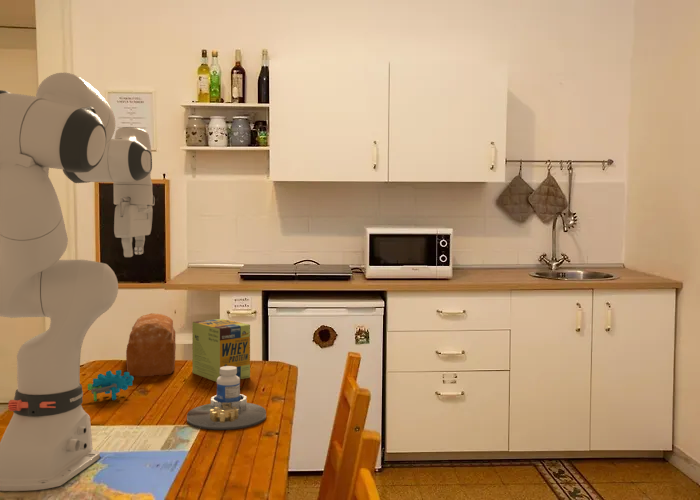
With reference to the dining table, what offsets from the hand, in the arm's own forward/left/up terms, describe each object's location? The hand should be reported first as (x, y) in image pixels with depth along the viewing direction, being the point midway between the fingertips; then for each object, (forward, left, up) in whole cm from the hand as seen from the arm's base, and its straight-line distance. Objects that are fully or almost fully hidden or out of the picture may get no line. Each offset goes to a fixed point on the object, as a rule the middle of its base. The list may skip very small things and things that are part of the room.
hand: (133, 255), depth 163 cm
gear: (+11, +8, -38) cm, 40 cm away
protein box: (+33, -16, -37) cm, 52 cm away
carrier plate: (-8, -23, -37) cm, 44 cm away
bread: (+45, +7, -38) cm, 59 cm away
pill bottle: (-5, -23, -36) cm, 43 cm away
